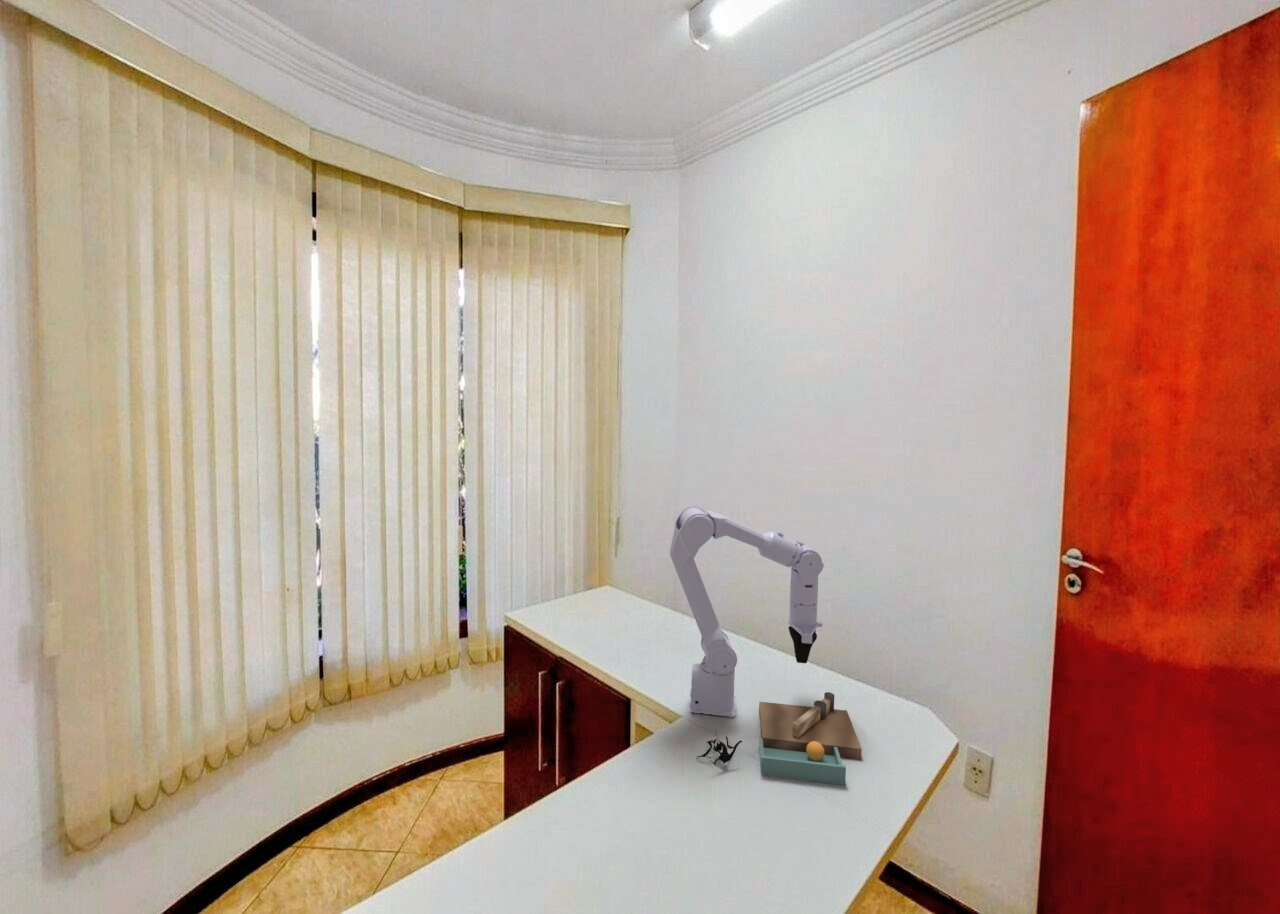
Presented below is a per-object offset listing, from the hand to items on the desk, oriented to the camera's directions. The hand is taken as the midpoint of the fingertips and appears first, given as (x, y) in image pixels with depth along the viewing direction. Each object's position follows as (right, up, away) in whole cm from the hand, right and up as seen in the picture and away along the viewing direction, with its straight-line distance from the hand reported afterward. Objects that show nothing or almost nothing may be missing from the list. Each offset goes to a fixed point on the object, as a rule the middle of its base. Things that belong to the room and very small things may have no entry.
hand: (801, 661), depth 116 cm
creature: (-21, -12, -17) cm, 30 cm away
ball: (-4, -10, -19) cm, 22 cm away
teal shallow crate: (-6, -11, -19) cm, 23 cm away
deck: (-2, -11, -10) cm, 14 cm away
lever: (0, -8, -9) cm, 12 cm away
